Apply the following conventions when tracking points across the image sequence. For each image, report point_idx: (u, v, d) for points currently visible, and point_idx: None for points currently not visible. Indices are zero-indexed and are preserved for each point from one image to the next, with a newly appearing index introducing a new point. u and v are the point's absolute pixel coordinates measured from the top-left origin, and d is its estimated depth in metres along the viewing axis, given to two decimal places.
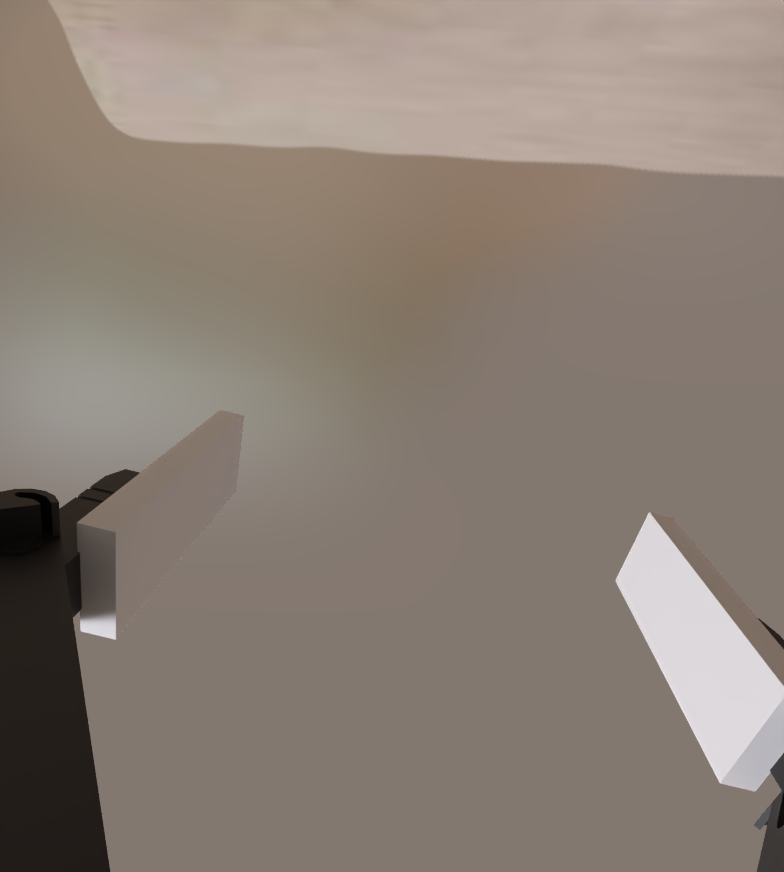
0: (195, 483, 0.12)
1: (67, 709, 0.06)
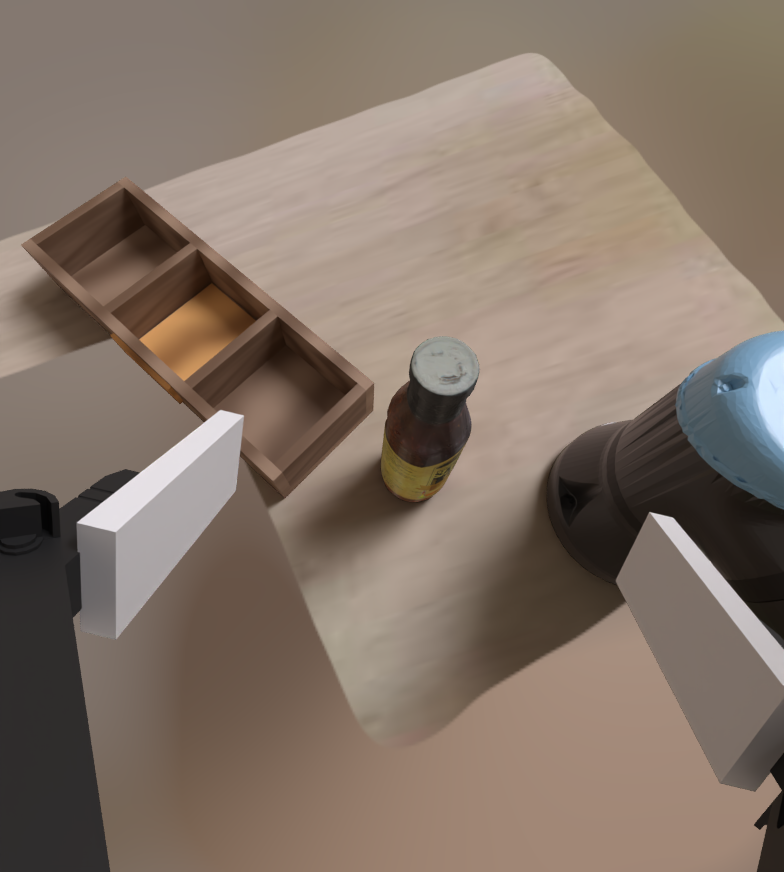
0: (195, 483, 0.12)
1: (68, 709, 0.06)
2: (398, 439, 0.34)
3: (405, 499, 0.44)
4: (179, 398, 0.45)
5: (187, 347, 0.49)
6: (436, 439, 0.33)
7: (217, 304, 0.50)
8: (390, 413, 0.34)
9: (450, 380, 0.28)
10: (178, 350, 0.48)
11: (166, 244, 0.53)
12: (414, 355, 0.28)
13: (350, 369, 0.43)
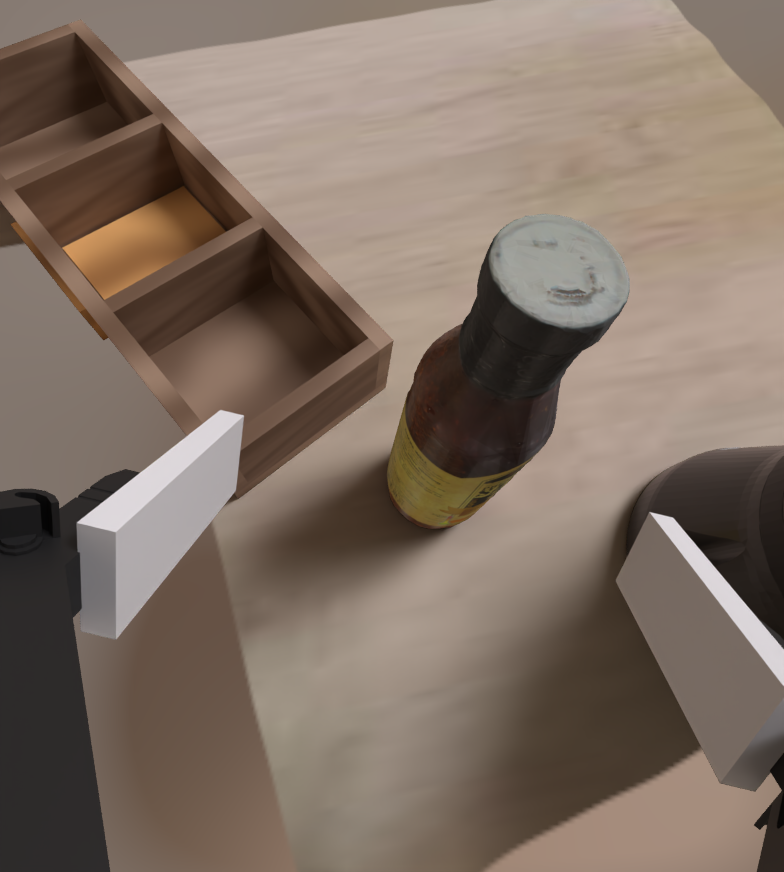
0: (195, 483, 0.12)
1: (67, 710, 0.06)
2: (430, 422, 0.19)
3: (418, 523, 0.29)
4: (102, 330, 0.30)
5: (132, 265, 0.34)
6: (499, 430, 0.18)
7: (186, 214, 0.36)
8: (420, 375, 0.19)
9: (571, 297, 0.13)
10: (118, 267, 0.34)
11: None
12: (497, 240, 0.13)
13: (360, 316, 0.28)
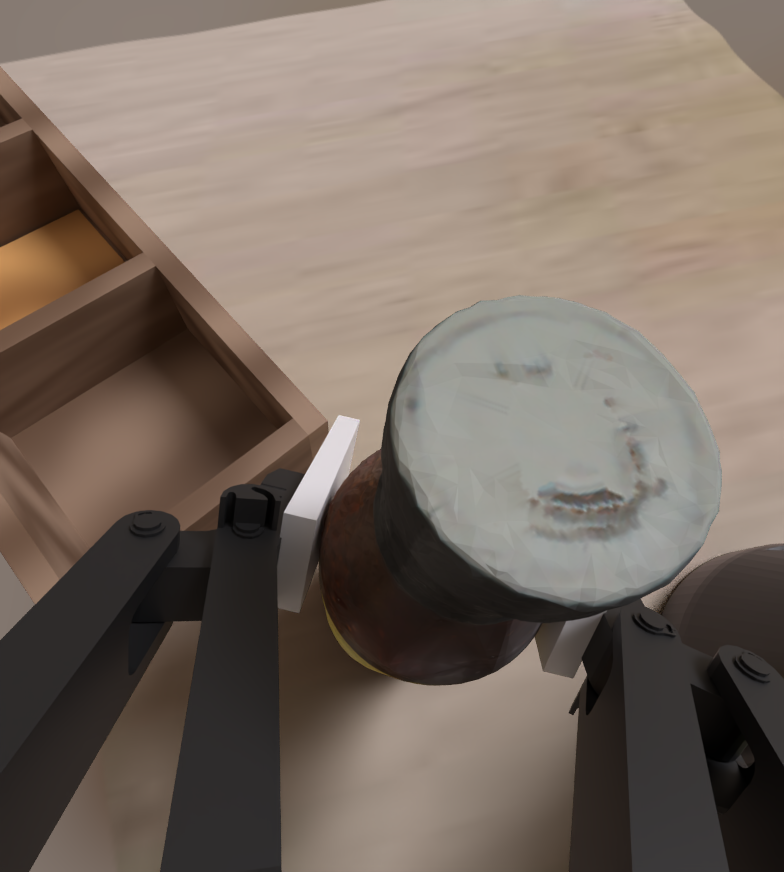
0: (339, 480, 0.14)
1: (265, 681, 0.07)
2: (342, 618, 0.11)
3: None
4: None
5: (1, 313, 0.26)
6: (456, 647, 0.10)
7: (78, 245, 0.28)
8: (326, 534, 0.11)
9: (589, 514, 0.05)
10: None
11: None
12: (412, 365, 0.06)
13: (282, 387, 0.21)
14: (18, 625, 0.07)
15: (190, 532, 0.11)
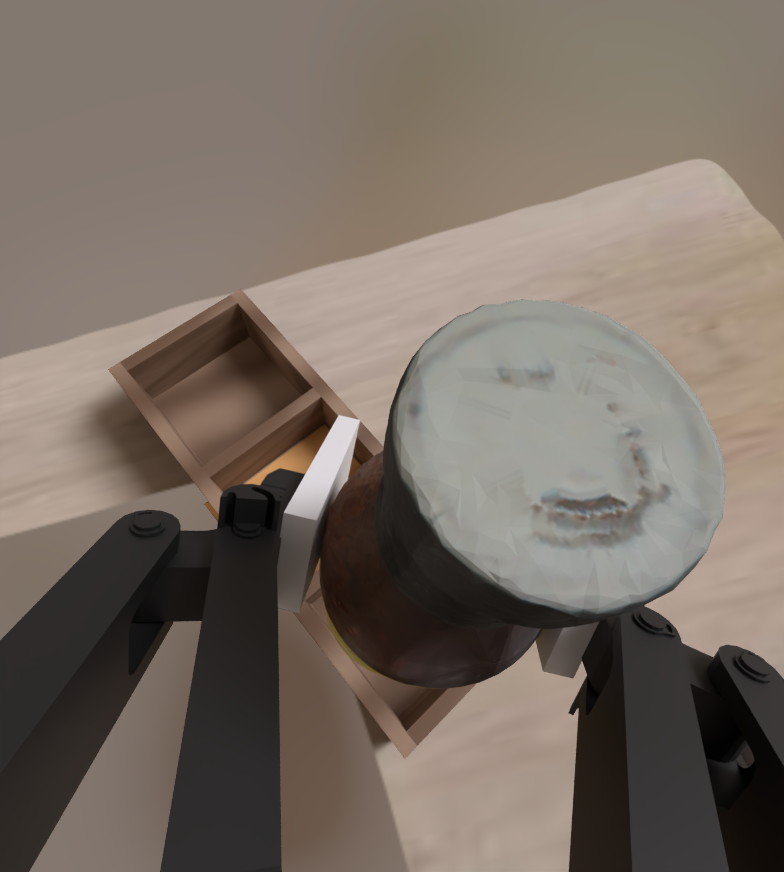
0: (339, 480, 0.14)
1: (265, 681, 0.07)
2: (343, 621, 0.11)
3: None
4: None
5: None
6: (457, 650, 0.10)
7: None
8: (327, 537, 0.11)
9: (593, 520, 0.05)
10: None
11: (273, 365, 0.44)
12: (415, 370, 0.06)
13: None
14: (18, 625, 0.07)
15: (190, 532, 0.11)
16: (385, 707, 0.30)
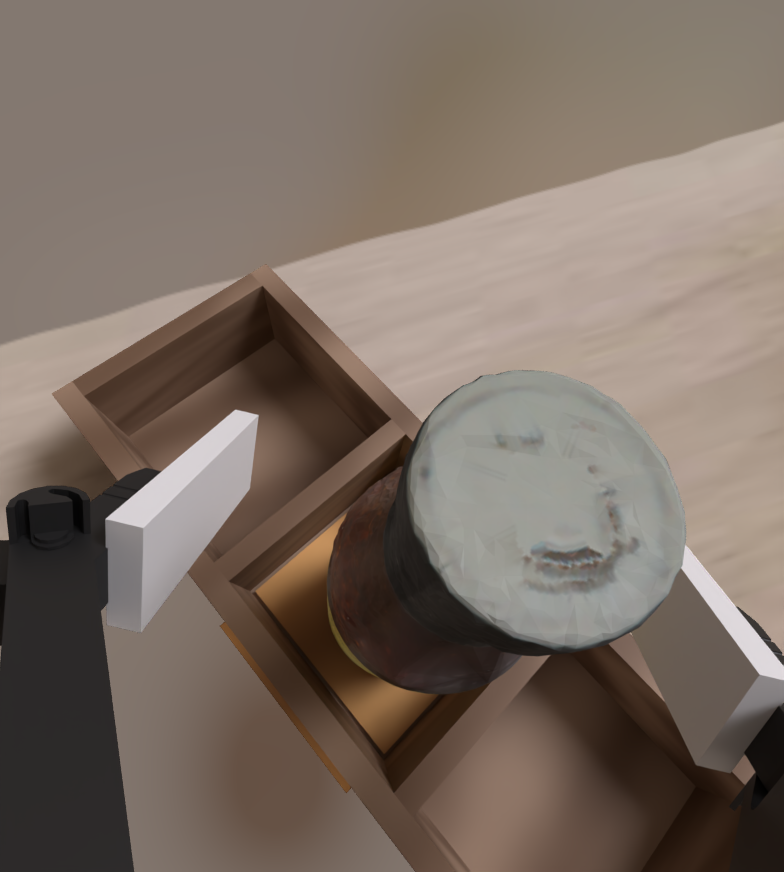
0: (214, 481, 0.13)
1: (95, 702, 0.06)
2: (351, 634, 0.12)
3: None
4: None
5: None
6: (456, 663, 0.11)
7: None
8: (337, 557, 0.12)
9: (574, 569, 0.06)
10: None
11: (312, 381, 0.29)
12: (425, 437, 0.07)
13: None
14: None
15: None
16: None
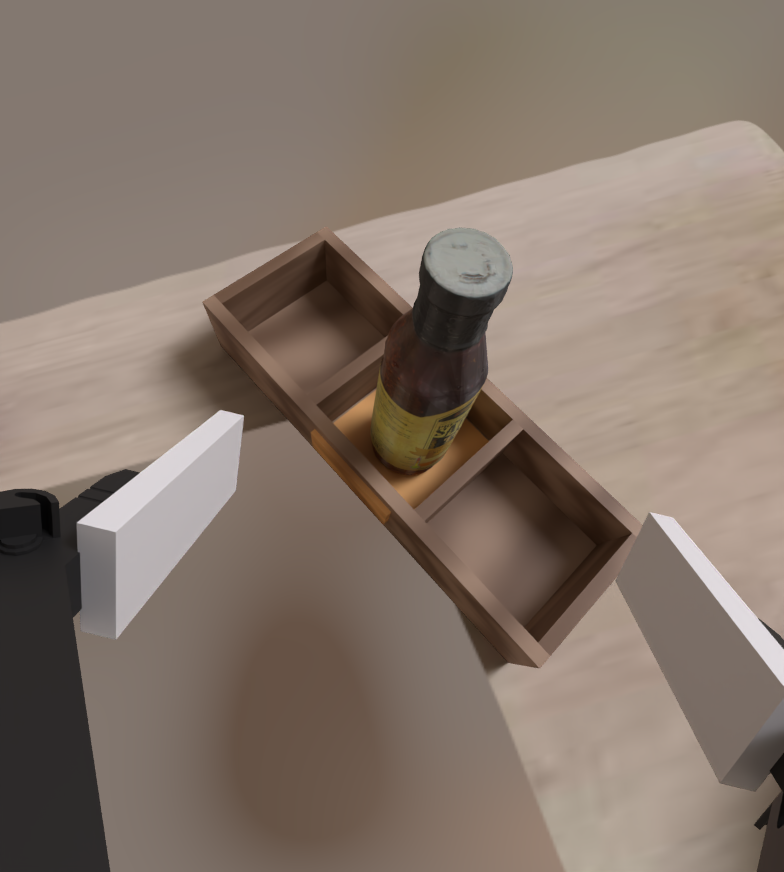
0: (195, 483, 0.12)
1: (68, 710, 0.06)
2: (396, 374, 0.27)
3: (395, 469, 0.37)
4: (387, 520, 0.35)
5: None
6: (443, 376, 0.26)
7: None
8: (389, 341, 0.27)
9: (474, 278, 0.21)
10: None
11: (352, 307, 0.44)
12: (429, 244, 0.21)
13: (620, 512, 0.34)
14: None
15: None
16: (515, 620, 0.30)
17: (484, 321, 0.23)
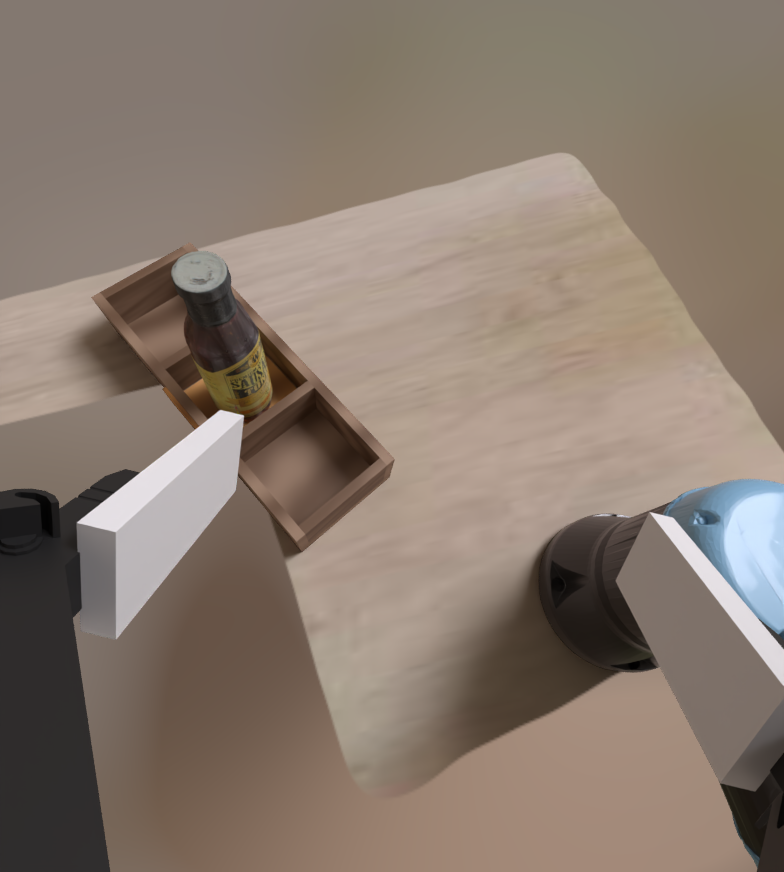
0: (195, 483, 0.12)
1: (68, 709, 0.06)
2: (188, 343, 0.41)
3: None
4: None
5: None
6: (213, 343, 0.40)
7: None
8: (184, 321, 0.41)
9: (199, 281, 0.35)
10: None
11: None
12: (176, 261, 0.36)
13: (374, 444, 0.48)
14: None
15: None
16: (284, 511, 0.45)
17: (220, 307, 0.37)
